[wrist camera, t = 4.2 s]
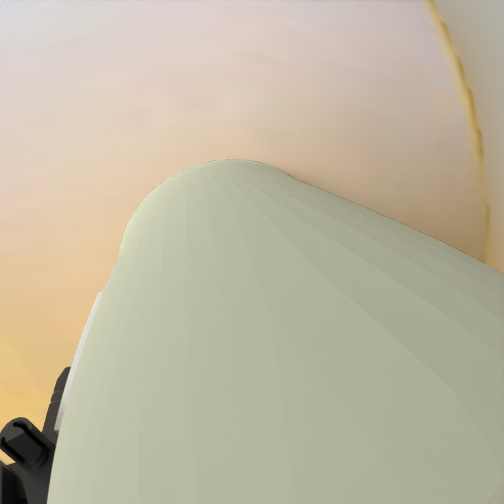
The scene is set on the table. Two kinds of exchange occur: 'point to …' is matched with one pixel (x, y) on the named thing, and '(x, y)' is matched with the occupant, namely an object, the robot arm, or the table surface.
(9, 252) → the table surface
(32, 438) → the robot arm
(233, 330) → the can
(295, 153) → the table surface
